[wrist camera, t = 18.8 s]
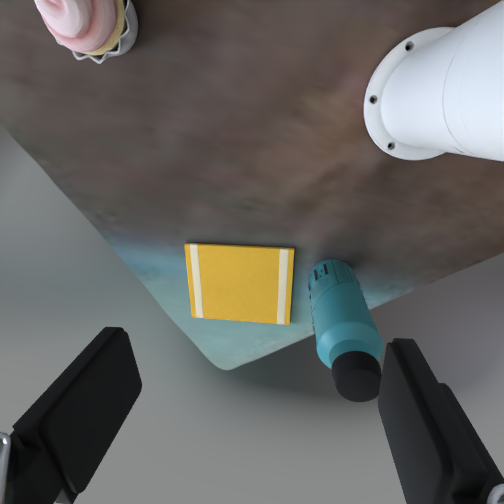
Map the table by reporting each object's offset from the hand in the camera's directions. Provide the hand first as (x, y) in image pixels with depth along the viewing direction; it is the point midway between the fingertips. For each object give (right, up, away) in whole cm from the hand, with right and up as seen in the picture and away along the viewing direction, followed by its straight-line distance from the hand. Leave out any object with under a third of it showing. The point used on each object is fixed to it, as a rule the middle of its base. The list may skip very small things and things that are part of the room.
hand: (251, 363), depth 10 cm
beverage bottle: (+11, +1, +32) cm, 34 cm away
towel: (-2, -1, +34) cm, 34 cm away
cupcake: (-16, +30, +23) cm, 41 cm away
